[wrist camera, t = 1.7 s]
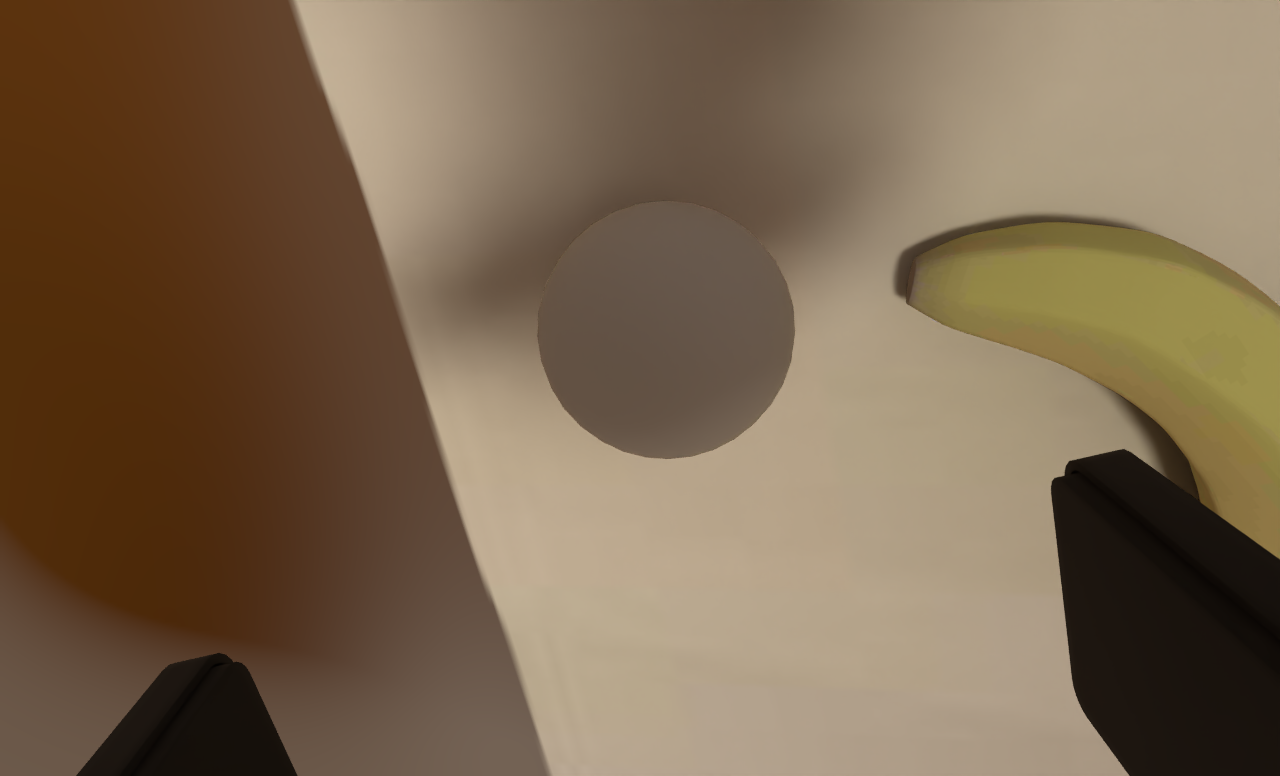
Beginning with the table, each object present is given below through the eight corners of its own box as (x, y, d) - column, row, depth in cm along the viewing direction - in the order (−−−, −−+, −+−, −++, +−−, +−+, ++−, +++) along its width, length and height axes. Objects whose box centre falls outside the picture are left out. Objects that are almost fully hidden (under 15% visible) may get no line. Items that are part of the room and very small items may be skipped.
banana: (1503, 206, 21) (1387, 784, 29) (1385, 149, 25) (1315, 662, 34) (903, 283, 25) (955, 770, 33) (898, 222, 30) (944, 663, 38)
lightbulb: (683, 131, 27) (712, 157, 17) (787, 290, 29) (872, 404, 18) (526, 243, 28) (462, 334, 18) (635, 391, 30) (634, 551, 20)
